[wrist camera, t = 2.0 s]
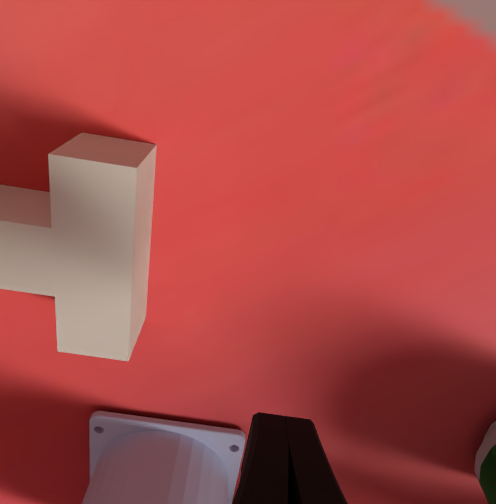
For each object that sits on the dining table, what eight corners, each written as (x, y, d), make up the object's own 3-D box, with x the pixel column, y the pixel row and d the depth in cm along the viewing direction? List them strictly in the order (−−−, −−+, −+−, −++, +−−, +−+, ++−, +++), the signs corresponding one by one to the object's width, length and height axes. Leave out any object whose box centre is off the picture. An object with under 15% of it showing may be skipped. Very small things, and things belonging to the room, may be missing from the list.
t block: (145, 317, 21) (128, 361, 18) (-28, 291, 20) (-72, 333, 18) (156, 144, 17) (137, 167, 14) (-55, 110, 17) (-114, 128, 14)
